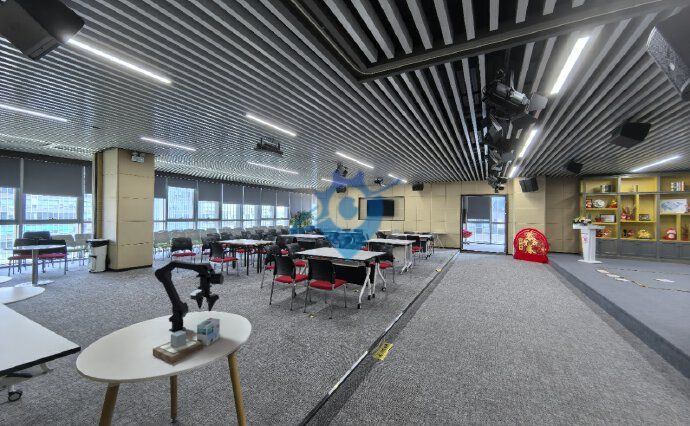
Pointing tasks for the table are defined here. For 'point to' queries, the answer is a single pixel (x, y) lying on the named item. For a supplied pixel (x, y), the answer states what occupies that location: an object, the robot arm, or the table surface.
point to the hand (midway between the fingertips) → (204, 309)
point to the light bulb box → (208, 331)
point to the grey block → (178, 339)
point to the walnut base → (177, 350)
